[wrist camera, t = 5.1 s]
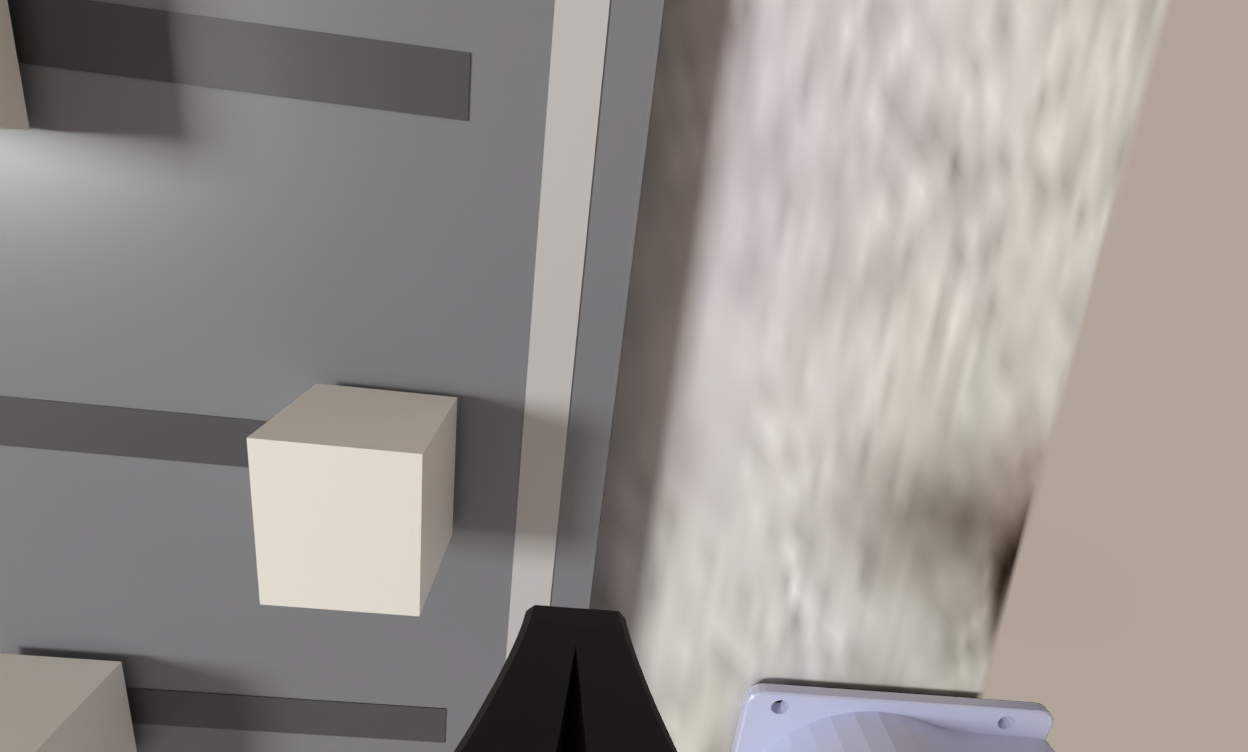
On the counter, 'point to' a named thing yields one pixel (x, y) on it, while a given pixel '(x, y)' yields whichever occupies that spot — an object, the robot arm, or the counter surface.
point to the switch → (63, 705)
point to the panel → (307, 333)
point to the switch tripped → (353, 499)
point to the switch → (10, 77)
